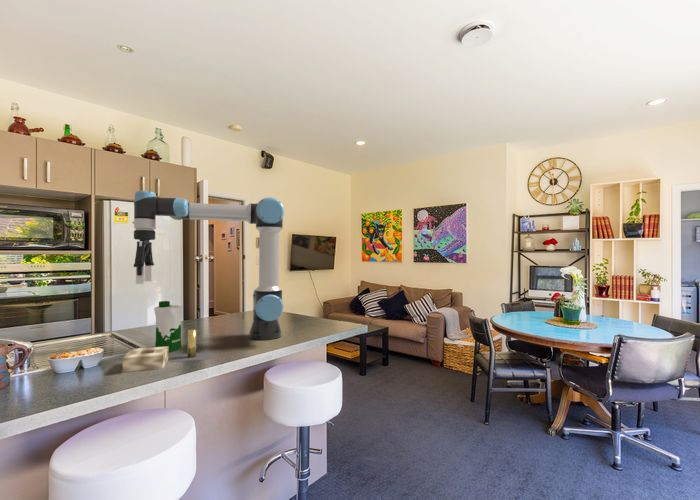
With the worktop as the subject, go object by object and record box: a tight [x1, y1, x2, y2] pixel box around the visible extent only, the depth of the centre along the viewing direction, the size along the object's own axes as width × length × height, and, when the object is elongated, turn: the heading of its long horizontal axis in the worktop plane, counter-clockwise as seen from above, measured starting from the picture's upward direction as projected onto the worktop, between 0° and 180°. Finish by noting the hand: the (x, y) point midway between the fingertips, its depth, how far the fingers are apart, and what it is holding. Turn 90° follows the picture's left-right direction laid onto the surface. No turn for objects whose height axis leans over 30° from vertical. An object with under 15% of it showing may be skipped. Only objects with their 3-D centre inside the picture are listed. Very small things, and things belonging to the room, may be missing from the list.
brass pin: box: [187, 329, 197, 358], centre depth 135 cm, size 3×3×10 cm
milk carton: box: [153, 300, 184, 353], centre depth 145 cm, size 9×9×20 cm
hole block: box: [121, 346, 170, 373], centre depth 125 cm, size 12×12×5 cm
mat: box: [169, 351, 213, 363], centre depth 135 cm, size 14×10×1 cm
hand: (144, 282), depth 142 cm, fingers open, 13 cm apart
